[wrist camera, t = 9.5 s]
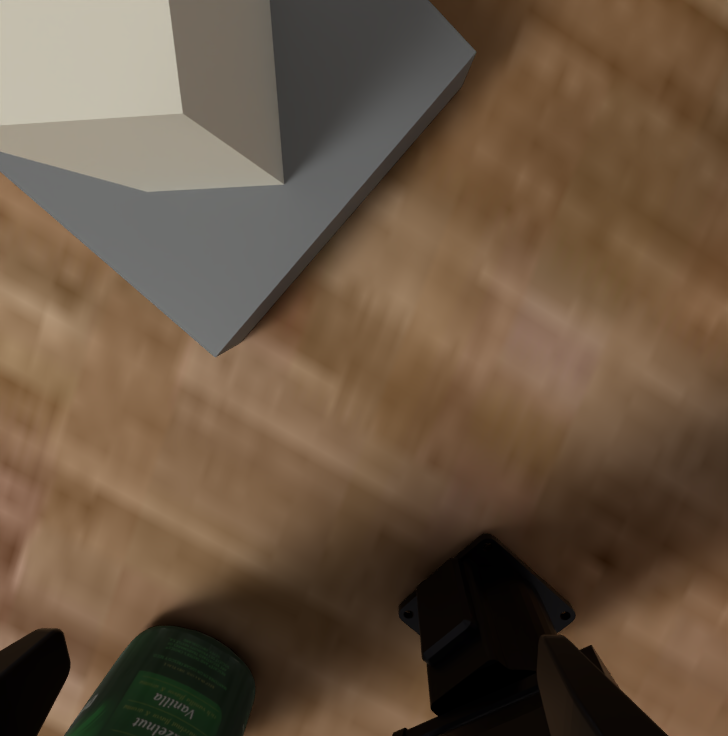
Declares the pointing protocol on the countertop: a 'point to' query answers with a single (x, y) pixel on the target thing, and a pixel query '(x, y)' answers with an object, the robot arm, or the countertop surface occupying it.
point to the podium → (300, 167)
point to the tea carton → (142, 90)
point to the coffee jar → (170, 689)
